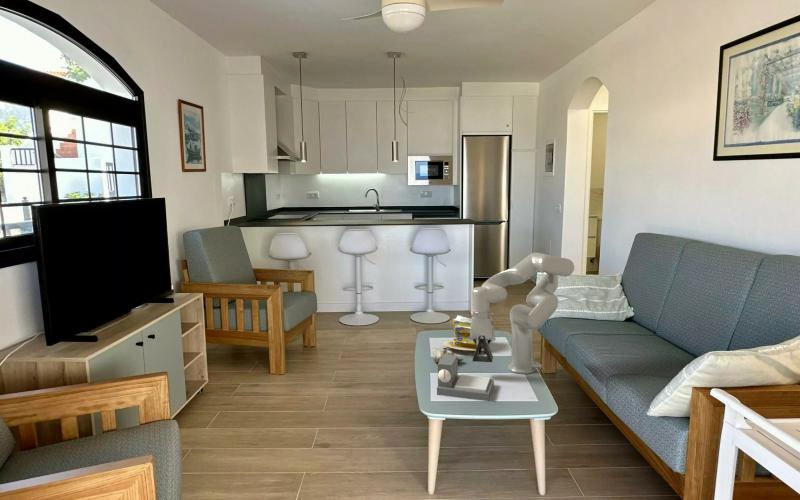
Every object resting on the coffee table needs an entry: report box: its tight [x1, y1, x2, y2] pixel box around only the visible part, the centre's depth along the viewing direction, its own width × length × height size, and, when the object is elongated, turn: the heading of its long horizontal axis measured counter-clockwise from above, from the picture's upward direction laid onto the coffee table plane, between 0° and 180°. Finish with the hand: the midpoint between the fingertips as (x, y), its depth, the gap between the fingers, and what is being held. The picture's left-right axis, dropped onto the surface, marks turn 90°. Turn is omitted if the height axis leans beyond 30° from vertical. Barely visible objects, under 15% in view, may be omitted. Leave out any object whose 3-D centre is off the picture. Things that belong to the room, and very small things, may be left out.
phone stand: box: [471, 336, 494, 363], centre depth 216 cm, size 9×6×12 cm, turn 75°
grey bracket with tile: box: [436, 354, 495, 402], centre depth 205 cm, size 22×16×13 cm
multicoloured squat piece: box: [442, 314, 484, 352], centre depth 256 cm, size 25×25×17 cm
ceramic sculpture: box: [432, 347, 464, 364], centre depth 236 cm, size 11×9×15 cm
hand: (482, 352), depth 217 cm, fingers closed on phone stand
